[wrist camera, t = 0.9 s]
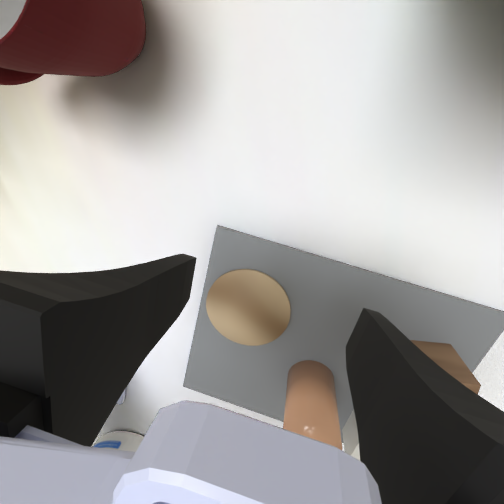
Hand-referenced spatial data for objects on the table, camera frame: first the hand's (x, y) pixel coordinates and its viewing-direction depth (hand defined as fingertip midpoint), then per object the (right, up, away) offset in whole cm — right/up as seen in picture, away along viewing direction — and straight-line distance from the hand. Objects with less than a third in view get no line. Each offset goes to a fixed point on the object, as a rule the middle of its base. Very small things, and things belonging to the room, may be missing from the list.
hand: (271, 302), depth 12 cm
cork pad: (-1, -3, +12) cm, 12 cm away
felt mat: (+5, -7, +12) cm, 15 cm away
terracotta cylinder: (+4, -9, +13) cm, 16 cm away
